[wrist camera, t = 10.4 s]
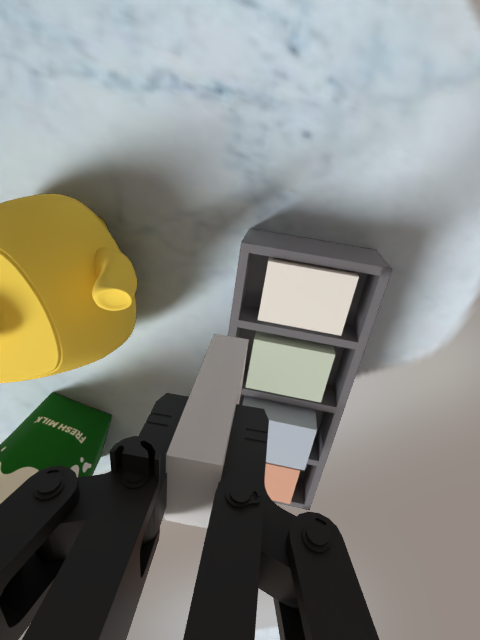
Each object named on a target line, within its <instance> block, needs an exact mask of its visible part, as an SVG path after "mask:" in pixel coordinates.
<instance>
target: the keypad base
mask: <svg viewBox="0 0 480 640" xmlns="http://www.w3.org/2000/svg"><path fill="white" fill-rule="evenodd" d="M269 256H270V257H275V258H281V259H287V260H292V261H298V262H304V263H309V264H315V265H321V266H327V267H332V268H338V269H344V270H349V271H355V272H357V274H358V276H359V279H358V282H357V285H356V288H355V292H354V295H353V298H352V302H351V305H350V308H349V312H348V315H347V318H346V321H345V325H344V328H343V331H342V335H341V336H340V335H334V334H329V333H324V332H319V331H313V330H308V329H303V328H297V327H292V326H287V325H281V324H276V323H271V322H265V321H260V320H258V315H259V309H260V304H261V298H262V293H263V287H264V282H265V276H266V271H267V265H268V260H269ZM391 271H392V268H391V267H390V266H389V264H388V263H387V262H386V261H385V260H384V259H383V257H382V256H381V255H380V254H379V253H378V251H377V250H373V249H367V248H361V247H355V246H350V245H344V244H338V243H332V242H326V241H320V240H315V239H309V238H303V237H297V236H291V235H285V234H279V233H274V232H268V231H262V230H256V229H249V231H248V232H247V234H246V235H245V237H244V239H243V240H242V242H241V248H240V255H239V262H238V269H237V276H236V283H235V290H234V297H233V304H232V311H231V318H230V325H229V332H228V336H230V337H237V338H243V339H249V342H248V349H247V356H246V363H245V370H244V377H243V384H242V391H241V396H240V401H239V405H242V404H243V399H244V395H247V396H252V397H257V398H261V399H266V400H271V401H276V402H281V403H286V404H291V405H296V406H301V407H306V408H311V409H315V410H316V423H317V432H316V435H315V438H314V442H313V445H312V448H311V451H310V455H309V458H308V461H307V464H306V467H305V470H300V473H299V477H298V480H297V483H296V486H295V490H294V493H293V496H292V500H291V503H290V504H287V503H282V502H278V501H273V500H272V501H273V502H275V503H279V504H284V505H289V506H293V507H298V508H302V509H306V510H310V507H311V504H312V501H313V498H314V495H315V492H316V490H317V486H318V483H319V481H320V478H321V475H322V472H323V469H324V466H325V463H326V460H327V457H328V454H329V451H330V448H331V446H332V443H333V440H334V437H335V434H336V431H337V428H338V425H339V422H340V420H341V417H342V414H343V411H344V408H345V405H346V402H347V399H348V396H349V393H350V390H351V387H352V385H353V382H354V379H355V376H356V373H357V370H358V367H359V364H360V361H361V358H362V355H363V352H364V350H365V347H366V344H367V341H368V338H369V335H370V332H371V329H372V326H373V323H374V320H375V317H376V315H377V312H378V309H379V306H380V303H381V300H382V297H383V294H384V291H385V288H386V285H387V283H388V280H389V277H390V274H391ZM256 331H260V332H265V333H271V334H276V335H281V336H286V337H292V338H297V339H302V340H307V341H313V342H318V343H323V344H329V345H333V346H334V351H335V358H334V361H333V364H332V368H331V371H330V374H329V378H328V381H327V384H326V387H325V391H324V394H323V397H322V401H321V402H316V401H311V400H306V399H301V398H296V397H291V396H286V395H281V394H276V393H271V392H266V391H261V390H256V389H251V388H246V382H247V376H248V370H249V365H250V359H251V354H252V348H253V343H254V338H255V333H256Z"/></svg>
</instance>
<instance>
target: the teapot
mask: <svg viewBox="0 0 480 640" xmlns="http://www.w3.org/2000/svg"><path fill="white" fill-rule="evenodd" d="M136 289H137V277H136V273H135V270H134V267H133V265H132V263H131V262H130V260H129V259H128V257H126V256H125V255H124V254H123V253H121V251H120V249H119V247H118V245H117V244H116V242H115V240H114V239H113V237H112V236H111V234H110V233H109V231H108V228H107V226H106V224H105V222H104V221H103V220H102V219H101V218H100V217H98V216H96V215H95V213H94V212H93V211H91V210H90V209H89V208H88V207H87V206H85V205H84V204H83V203H81V202H79V201H78V200H76V199H74V198H71V197H68V196H65V195H59V194H41V195H34V196H28V197H22V198H18V199H14V200H10V201H6V202H3V203H1V204H0V383H7V382H17V381H24V380H30V379H36V378H41V377H46V376H50V375H54V374H58V373H62V372H66V371H69V370H72V369H76V368H79V367H82V366H84V365H87V364H90V363H92V362H95V361H97V360H99V359H101V358H104V357H105V356H107V355H108V354H110V353H111V352H113V351H114V350H116V349H117V348H118V347H120V346H121V345H122V344H123V343H124V342H125V341H126V340H127V339H128V338H129V337H130V335H131V333H132V331H133V329H134V326H135V322H136V299H135V292H136Z"/></svg>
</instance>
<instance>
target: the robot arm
mask: <svg viewBox="0 0 480 640" xmlns="http://www.w3.org/2000/svg"><path fill="white" fill-rule="evenodd" d="M248 342H249V339H243V338H237V337H230V336H224V335H218V334H214V335H213V338H212V340H211V343H210V345H209V348H208V350H207V353H206V355H205V358H204V360H203V363H202V365H201V368H200V370H199V373H198V376H197V378H196V381H195V383H194V386H193V388H192V391H191V393H190V396H189V397H187V396H181V395H175V394H169V393H166V394H165V395H164V396H163V397H161V398H160V399H159V400H158V401H156V403H155V405H154V407H153V409H152V411H151V414H150V415H149V417H148V419H147V421H146V423H145V425H144V427H143V429H142V431H141V433H140V434H139V436H134V437H130V438H126V439H123V440H122V441H120V442H118V443H117V444H115V445H114V447H113V448H112V449H111V450H110V461H111V471H110V472H108V473H105V474H101V475H95V476H85V477H77V476H76V473H75V472H74V471H73V470H72V469H70V468H69V467H64V466H51V467H48V468H45V469H42V470H40V471H38V472H37V473H35V474H34V475H32V476H31V477H29V478H28V479H27V480H26V481H25V482H24V483H23V484H22V485H21V486H19V487H18V488H17V489H16V490H15V491H14V492H13V493H12V494H11V495H9V496H8V497H7V498H6V499H5V500H4V501H3V502H2V503H1V504H0V640H18V639H19V638H20V637H21V635H22V634H23V633H24V631H25V630H26V629H27V627H28V626H29V625H30V626H29V628H28V630H27V631H26V633H25V635H24V637H23V639H22V640H126V638H127V635H128V632H129V629H130V626H131V623H132V620H133V617H134V614H135V611H136V608H137V605H138V602H139V598H140V596H141V593H142V590H143V586H144V583H145V580H146V577H147V574H148V571H149V568H150V565H151V562H152V559H153V556H154V553H155V550H156V547H157V544H158V541H159V533H160V524H161V521H162V518H163V515H164V512H165V520H167V521H173V522H178V523H183V524H188V525H193V526H198V527H203V528H207V533H206V538H205V542H204V547H203V551H202V556H201V561H200V565H199V570H198V574H197V579H196V583H195V588H194V593H193V597H192V602H191V606H190V611H189V616H188V620H187V625H186V630H185V634H184V639H183V640H254V638H255V624H256V611H257V597H258V588H259V589H261V590H263V591H264V592H266V593H267V594H269V595H270V596H272V597H273V598H274V604H275V610H276V616H277V622H278V628H279V634H280V640H379V638H378V635H377V632H376V629H375V626H374V624H373V621H372V618H371V616H370V613H369V610H368V607H367V604H366V601H365V599H364V596H363V593H362V591H361V587H360V585H359V582H358V579H357V576H356V573H355V571H354V568H353V565H352V562H351V560H350V557H349V554H348V552H347V548H346V546H345V543H344V540H343V537H342V535H341V533H340V532H339V530H338V528H337V526H336V525H335V524H334V523H333V522H332V521H331V520H330V519H328V518H327V517H325V516H323V515H321V514H319V513H313V512H306V513H302V514H299V515H298V516H295V515H293V514H291V513H289V512H287V511H285V510H283V509H282V508H280V507H279V506H277V505H276V504H275V503H274V502H273V501H272V500H271V498H270V497H269V495H268V494H267V491H266V488H265V481H264V480H265V467H266V454H267V440H268V427H269V419H268V417H267V414H266V412H265V410H264V409H262V408H256V407H250V406H244V405H239V401H240V396H241V391H242V384H243V377H244V370H245V363H246V356H247V349H248ZM30 623H31V624H30Z"/></svg>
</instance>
